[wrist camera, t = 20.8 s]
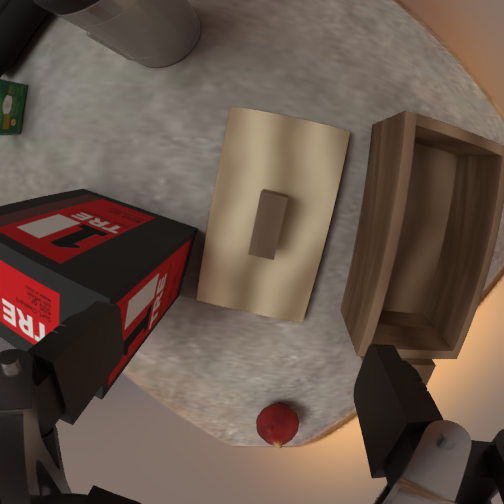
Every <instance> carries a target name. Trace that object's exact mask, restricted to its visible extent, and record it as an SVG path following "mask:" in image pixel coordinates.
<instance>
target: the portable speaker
mask: <svg viewBox="0 0 504 504" xmlns="http://www.w3.org/2000/svg"><path fill="white" fill-rule="evenodd" d="M48 13H49V11H47V10H45V9H43V8H41V7H40V6H38V5H37V4H36V3H35V2H34V1H33V0H0V77H1V76H2V75H3V74H4V73H5V72H6V71H7V70H8V69H9V68H10V67H11V66H12V65H13V63H14V62H15V60H16V58H17V57H18V55H19V54H20V52H21V50H22V49H23V47H24V46H25V44H26V43H27V41H28V40H29V38H30V37H31V36H32V34H33V33H34V31H35V30H36V29H37V27H38V26H39V24H40V23H41V22H42V20H43V19H44V18H45V17H46V15H47V14H48Z"/></svg>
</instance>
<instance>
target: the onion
mask: <svg viewBox="0 0 504 504" xmlns="http://www.w3.org/2000/svg"><path fill="white" fill-rule="evenodd" d="M256 424H257V432H258V434H259V436H260V437H261V438H262V439H264V440H265V441H266V442H267V443H269V444H271V445H275V446H276V447H277V448H281V447H282V445H283V444H286V443H287V442H289V441H290V440H292V439H293V437H294V436H295V435H296V433H297V431H298V427H299V420H298V417H297V415H296V413H295V412H294V411H293V410H292V409H291V408H289V407H288V406H285V405H283V404H273V405H270V406H268V407H266V408H264V409H263V410H262V411H261V413H260V414H259V415H258V417H257V420H256Z"/></svg>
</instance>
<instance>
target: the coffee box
mask: <svg viewBox="0 0 504 504" xmlns="http://www.w3.org/2000/svg"><path fill="white" fill-rule="evenodd" d="M27 87H28V85H25V84H20V83H15V82H11V81H6V80H2V79H0V135H17V134H20V133H21V125H22V117H23V110H24V103H25V99H26V92H27Z"/></svg>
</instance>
